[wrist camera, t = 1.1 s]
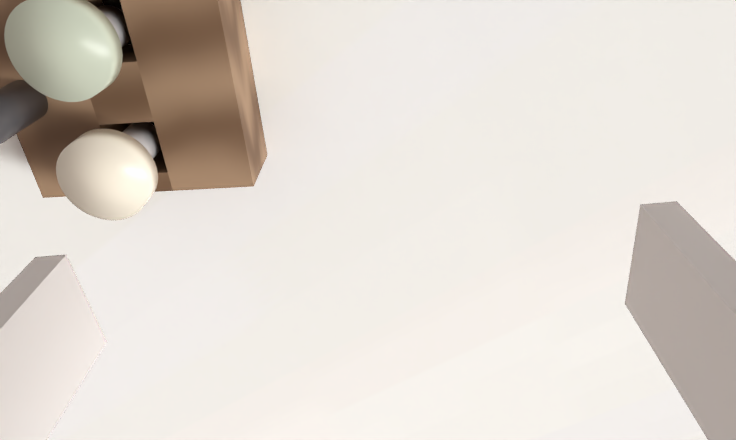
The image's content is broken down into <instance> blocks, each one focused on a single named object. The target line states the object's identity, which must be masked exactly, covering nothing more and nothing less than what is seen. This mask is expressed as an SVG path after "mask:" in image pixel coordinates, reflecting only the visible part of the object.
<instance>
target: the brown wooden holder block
mask: <svg viewBox="0 0 736 440" xmlns="http://www.w3.org/2000/svg"><path fill="white" fill-rule="evenodd" d="M24 1H26V0H0V88H2V87H4V86H6V85H8V84H10V83H12V82H14V81H16V80H24V79H23V78H22V77H21V76H20V75H19V73H18V72H17V70H16V69H15V67H14V66H13V64H12V62H11V60H10V58H9V56H8V53H7V50H6V46H5V39H4V32H5V25H6V21H7V19H8V17H9V15H10V13H11V12H12V11H13V9H14V8H15V7H16V6H18V5H19V4H20V3H22V2H24ZM87 1H88V2H90V3H91V4H93V5H94V6H96V7H100V6H103V1H102V0H87ZM120 2H121V6H122V10H123V13H124V17H125V20H126V24H127V27H128V31H129V35H130V38H131V42H132V44H131V45H125V46H123V47H122V54H123V57H122V66H121V69H120V72H119V74H118V76H117V78H116V79H115V80H114V82H113V83H112V84H111V85H109V86H108V87H107V88H105V89H104V90H102V91H101V92H99V93H98V94H96V95H95V96H93V97H92V98H90V99H87V100H84V101H79V102H65V101H59V100H55V99H53V98H50V97H48V96H46V95H45V96H46V98H47V101H48V110H47V112H46V114H45V115H44V116H43V117H41V118H40V119H38V120H37V121H35V122H34V123H32V124H30V125H29V126H27V127H26V128H24V129H23V130H21V131H20V132H18V133H17V136H18V139H19V141H20V143H21V146H22V148H23V151H24V153H25V155H26V158H27V160H28V163H29V165H30V167H31V170H32V172H33V175H34V177H35V179H36V182H37V184H38V187H39V189H40V191H41V194H42V196H43V198H45V197H63V196H66V195H65V194H64V193H63V191H62V189H61V187H60V185H59V183H58V180H57V175H56V164H57V160H58V157H59V155H60V153H61V152H62V151H63V149H64V148H66V147H67V146H68V145H69V144H70V143H72V142H73V141H74V140H75V139H77V138H78V137H79V136H81V135H82V134H84V133H85V132H88V131H90V130H94V129H113V130H117V131H120V132H123V131H124V130H125V129H126V128H127V127H128V126H129V125H130V124H132V123H138V122H154V124H155V128H156V132H157V135H158V139H159V142H160V146H161V150H160V151H159V153H158V154H157V155H156V156H155V157H154V158H153V160H154V162H155V164H156V167H157V171H158V183H157V187H156V190H155V192H156V191H174V190H193V189H211V188H230V187H248V186H254V184H255V182H256V180H257V177H258V175H259V173H260V170H261V168H262V166H263V164H264V161H265V159H266V157H267V151H266V145H265V139H264V133H263V128H262V122H261V116H260V110H259V105H258V99H257V93H256V88H255V82H254V76H253V70H252V65H251V59H250V53H249V47H248V42H247V36H246V30H245V24H244V19H243V13H242V7H241V2H240V0H120Z"/></svg>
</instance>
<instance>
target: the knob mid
mask: <svg viewBox="0 0 736 440" xmlns="http://www.w3.org/2000/svg"><path fill="white" fill-rule="evenodd" d="M4 39H5V46H6V50H7V53H8V56H9V58H10V60H11V62H12V64H13V66H14V67H15V69H16V70H17V72H18V73H19V75H20V76H21V77H22V78H23V79H24V80H25V81H26V82H27V83H28V84H29V85H30V86H32V87H33V88H34V89H35V90H37V91H39V92H40V93H42V94H44V95H46V96H48V97H50V98H53V99H55V100H59V101H65V102H79V101H84V100H87V99H90V98H92V97H93V96H95V95H96V94H98V93H99V92H101V91H102V90H104V89H105V88H107V87H108V86H109V85H111V84H112V83H113V82H114V80H115V79H116V78H117V76H118V74H119V72H120V69H121V66H122V57H123V54H122V47H123V46H125V45H127V44H128V43H129V41H130V40H131V38H130V35H129V31H128V27H127V24H126V20H125V17H124V13H123V11H121V10H120V9H118V8H116V7H114V6H111V5H103V6H100V7H96V6H94V5H93V4H91V3H90V2H88V1H87V0H26V1H24V2H22V3H20V4H19V5H18V6H16V7H15V8H14V9H13V11H12V12H11V13H10V15H9V17H8V19H7V21H6V25H5V32H4Z"/></svg>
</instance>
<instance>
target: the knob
mask: <svg viewBox="0 0 736 440" xmlns="http://www.w3.org/2000/svg"><path fill="white" fill-rule="evenodd" d="M160 150H161V146H160V142H159V139H158V135H157V132H156V128H155V126H153V125H152V124H150V123H147V122H138V123H132V124H130V125H129V126H128V127H127V128H126V129H125V130H124V131H123V132H120V131H117V130H113V129H94V130H90V131H88V132H85V133H84V134H82V135H81V136H79V137H78V138H77V139H75V140H74V141H73V142H72V143H70V144H69V145H68V146H67V147H66V148H64V149H63V151H62V152H61V153H60V155H59V157H58V160H57V164H56V175H57V180H58V183H59V185H60V187H61V189H62V191H63V193H64V194H65V195H66V197H67V198H68V199H69V200H70V201H71V202H72V203H73V204H74V205H75V206H76V207H77V208H79V209H80V210H82V211H83V212H85V213H87V214H89V215H91V216H94V217H97V218H100V219H105V220H122V219H127V218H129V217H132V216H133V215H135V214H137V213H138V212H139V211H140V210H141V209H142V208H143V207H144V205H145V204H146V203H147V201H148V200H149V199H150V198H151V196H152V195H153V193H154V192H155V190H156V187H157V183H158V171H157V167H156V164H155V162H154V160H153V158H154V157H155V156H156V155H157V154H158V153H159V151H160Z"/></svg>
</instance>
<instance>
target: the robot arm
mask: <svg viewBox="0 0 736 440" xmlns="http://www.w3.org/2000/svg"><path fill="white" fill-rule="evenodd" d="M625 305H626V306H627V308H628V310H629V311H630V313H631V314H632V316H633V318H634V319H635V321H636V323H637V324H638V326H639V328H640V329H641V331H642V333H643V334H644V336H645V337H646V339H647V341H648V342H649V344H650V346H651V347H652V349H653V351H654V352H655V354H656V355H657V357H658V359H659V360H660V362H661V364H662V365H663V367H664V369H665V370H666V372H667V373H668V375H669V377H670V378H671V380H672V382H673V383H674V385H675V387H676V388H677V390H678V391H679V393H680V395H681V396H682V398H683V400H684V401H685V403H686V405H687V406H688V408H689V409H690V411H691V413H692V414H693V416H694V418H695V419H696V421H697V423H698V424H699V426H700V427H701V429H702V431H703V432H704V434H705V436H706V437H707V439H708V440H736V261H735V260H734V259H733V258H732V257H731V256H730V255H729V254H728V253H727V252H726V251H725V250H724V249H723V248H722V247H721V246H720V245H719V244H718V243H717V242H716V241H715V240H714V239H713V238H712V237H711V236H710V235H709V234H708V233H707V232H706V231H705V230H704V229H703V228H702V227H701V226H700V225H699V224H698V223H697V222H696V221H695V220H694V219H693V217H692V216H691V215H690V214H689V213H688V212H687V211H686V210H685V209H684V208H683V207H682V206H681V205H680V204H679V203H678V202H677V201H676V202H665V203H653V204H642V205H640V210H639V217H638V223H637V229H636V236H635V242H634V248H633V255H632V261H631V267H630V274H629V280H628V287H627V293H626V299H625ZM106 343H107V341H106V339H105V336H104V334H103V332H102V330H101V328H100V326H99V324H98V321H97V319H96V317H95V315H94V313H93V311H92V309H91V306H90V304H89V302H88V300H87V298H86V296H85V294H84V291H83V289H82V287H81V285H80V283H79V281H78V279H77V276H76V274H75V272H74V270H73V268H72V266H71V264H70V261H69V259H68V257H67V255H55V256H44V257H35V258H34V259H33V260H32V261H31V262H30V263H29V264H28V265H27V266H26V267H25V268H24V270H23V271H22V272H21V273H20V274H19V275H18V276H17V277H16V278H15V279H14V280H13V281H12V282H11V283H10V284H9V285H8V286H7V287H6V288H5V289H4V290H3V291H2V292H1V293H0V440H47V439H48V438H49V436H50V434H51V433H52V431H53V429H54V428H55V426H56V425H57V423H58V421H59V420H60V418H61V416H62V415H63V413H64V412H65V410H66V408H67V407H68V405H69V403H70V402H71V400H72V399H73V397H74V395H75V394H76V392H77V390H78V389H79V387H80V386H81V384H82V382H83V381H84V379H85V377H86V376H87V374H88V373H89V371H90V369H91V368H92V366H93V364H94V363H95V361H96V360H97V358H98V356H99V355H100V353H101V351H102V350H103V348H104V347H105V345H106Z"/></svg>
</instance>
